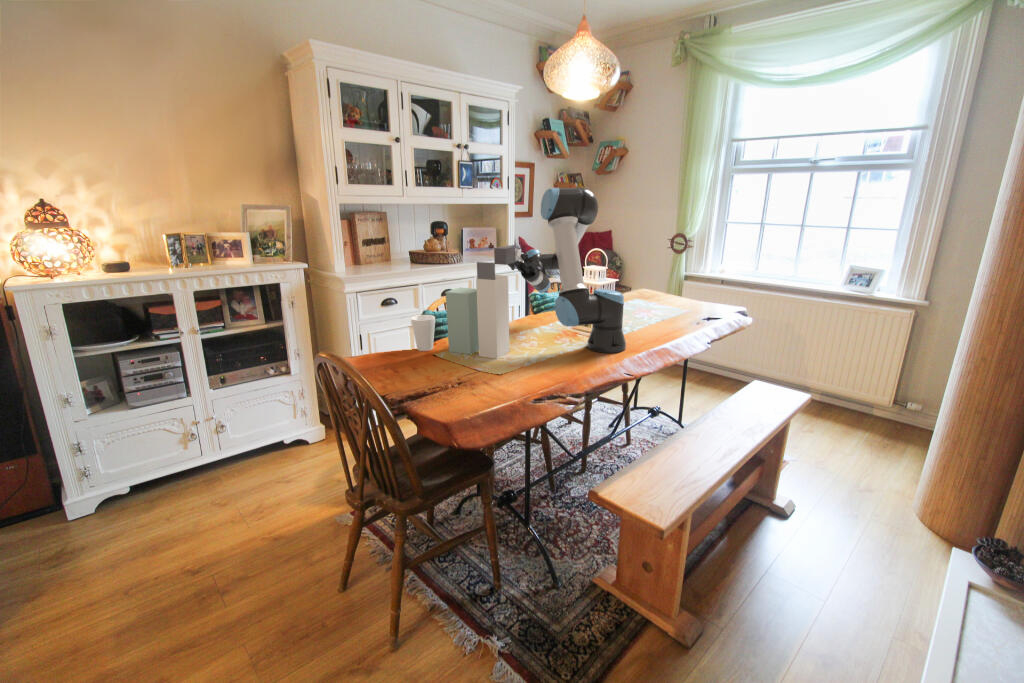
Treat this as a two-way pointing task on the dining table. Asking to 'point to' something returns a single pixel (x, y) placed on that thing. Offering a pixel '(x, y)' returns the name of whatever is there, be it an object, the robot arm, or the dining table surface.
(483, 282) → the tower
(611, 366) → the dining table surface
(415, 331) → the foam cup
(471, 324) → the sage green pillar
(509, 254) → the charger
